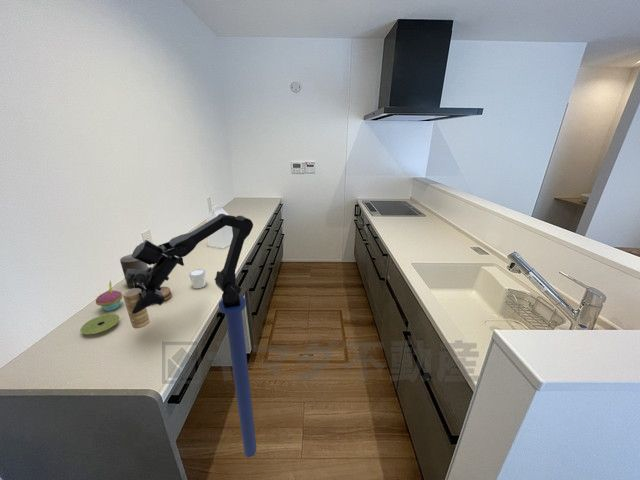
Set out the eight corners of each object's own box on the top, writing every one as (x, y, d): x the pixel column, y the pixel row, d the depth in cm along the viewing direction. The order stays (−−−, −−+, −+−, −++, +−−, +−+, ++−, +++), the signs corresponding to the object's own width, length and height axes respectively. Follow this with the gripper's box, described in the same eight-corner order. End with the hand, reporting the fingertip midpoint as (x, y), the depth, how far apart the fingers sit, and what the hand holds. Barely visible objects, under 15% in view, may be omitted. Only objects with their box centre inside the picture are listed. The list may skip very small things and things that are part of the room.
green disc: (100, 340, 91) (99, 335, 90) (73, 335, 93) (71, 331, 92) (128, 319, 101) (126, 315, 101) (103, 316, 103) (101, 312, 102)
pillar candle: (126, 290, 120) (118, 261, 115) (127, 281, 128) (119, 253, 122) (151, 284, 125) (144, 256, 119) (151, 276, 133) (144, 249, 127)
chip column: (151, 317, 94) (143, 287, 90) (146, 327, 90) (137, 295, 85) (135, 319, 93) (126, 288, 88) (129, 329, 88) (119, 297, 84)
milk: (223, 248, 167) (218, 208, 157) (208, 246, 170) (202, 207, 161) (234, 242, 177) (230, 204, 168) (220, 239, 181) (215, 202, 171)
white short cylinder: (208, 286, 124) (206, 273, 122) (193, 290, 121) (190, 277, 118) (205, 280, 130) (203, 267, 127) (190, 284, 126) (187, 271, 123)
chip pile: (173, 290, 121) (172, 284, 119) (170, 302, 112) (168, 296, 111) (150, 294, 118) (148, 288, 117) (144, 306, 109) (142, 299, 108)
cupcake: (120, 299, 114) (112, 274, 109) (128, 306, 109) (120, 281, 105) (95, 308, 107) (86, 283, 103) (103, 316, 103) (94, 290, 98)
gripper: (132, 251, 92) (102, 289, 89) (145, 270, 79) (109, 315, 76) (162, 264, 100) (135, 300, 97) (177, 283, 87) (147, 325, 84)
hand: (131, 309), depth 88 cm, fingers closed on chip column, 5 cm apart
